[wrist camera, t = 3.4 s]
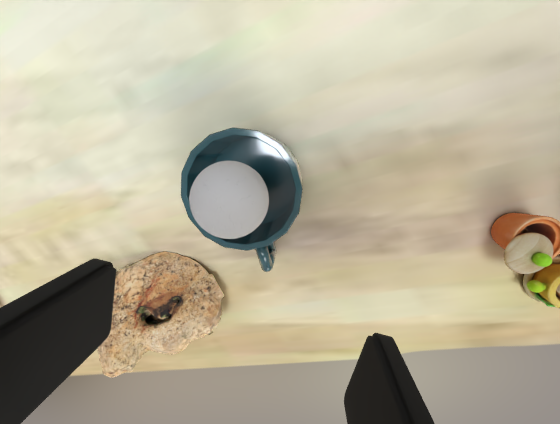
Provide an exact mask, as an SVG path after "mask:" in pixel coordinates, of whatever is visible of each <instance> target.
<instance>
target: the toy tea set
mask: <svg viewBox="0 0 560 424" xmlns="http://www.w3.org/2000/svg"><path fill="white" fill-rule="evenodd" d="M491 235H492V238H493V240H494V241H495V242H496V243H497V244H498V245H500V246H501V247H502V248H503V249H505V252H504V260H505V263H506V265H507V266H508V267H509V268H510V269H511V270H513V271H514V272H517V273H521V274H525V275H524V279H523V287H524V289H525V291H526V293H527V294H528V295H529V296H530V297H532V298H533V299H535V300H537V301H540V302H544V303H545V304H546V305H547V306H553V307H557V308H560V256H557V255H558V254H559V253H560V222H559V221H558V220H556V219H554V218H551V217H546V216H538V215H530V214H521V213H508V214H505V215H503V216H501V217H500V218H498V219H497V220H496V221H495V223H494V224H493V226H492V230H491Z"/></svg>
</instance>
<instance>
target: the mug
mask: <svg viewBox="0 0 560 424" xmlns="http://www.w3.org/2000/svg"><path fill="white" fill-rule="evenodd" d="M229 160H230V161H236V162H241V163H244V164H246V165H248V166H250V167H251V168H253V169H254V170H256V171H257V172H258V173H259V174H260V176H261V177H262V179H263V180H264V182H265V184H266V187H267V190H268V195H269V206H268V210H267V213H266V216H265V218H264V220H263V221H262V223H261V224H260V225H259V226H258V227H257V228H256V229H255V230H254V231H252V232H251V233H249V234H248V235H246V236H243V237H239V238H236V239H225V238H219V237H216V236H213V235H211V234H209V233H208V232H206V231H205V230H204V229H203V228H201V227H200V225H199V224H198V223H197V222H196V220H195V219H194V217H193V215H192V212H191V209H190V202H189V196H190V190H191V187H192V185H193V182H194V180H195V179H196V177H197V176H198V175H199V174H200V172H201V171H203V170H204V169H205V168H207V167H208V166H210V165H212V164H214V163H217V162H221V161H229ZM302 184H303V180H302V176H301V172H300V168H299V164H298V161H297V159H296V158H295V156H294V155H293V154H292V152H291V151H290V150H289V148H288V147H287V146H286V145H285V144H284V143H282V142H280V141H279V140H277V139H275V138H274V137H272V136H270V135H268V134H266V133H263V132H260V131H257V130H248V129H240V128H230V129H227V130H223V131H220V132H217V133H214V134H210V135H209V136H207V137H206V138H205V139H204V140H203V141H202V142H201V143H200V144H198V145H197V146H196V147H195V148H194V149H193V150H192V151H191V153H190V155H189V157H188V159H187V161H186V164H185V166H184V168H183V170H182V176H181V198H182V200H183V203H184V206H185V208H186V211H187V214H188V217H189V219H190V220H191V221H192V222H193V223H194V225H195V226H196V227H197V228H198V229H199V230H200V232H201V233H202V234H203V235H204V236H205V237H207V238H209V239H211V240H212V241H214V242H216V243H218V244H219V245H221V246H223V247H227V248H234V249H240V250H251V249H256V252H257V255H258V259H259V262H260V265H261V268H262V270H263V271H265V272H269V271H271V269H272V268H273V264H274V260H275V256H276V248H275V244H274V241H276V240H277V239H278V238H280V237H281V236H283V235H284V234H285V233H287V232H288V230H289V228H290V227H291V225H292V223H293V222H294V220H295V219H296V217H297V215H298V214H299V210H300V203H301V196H302Z"/></svg>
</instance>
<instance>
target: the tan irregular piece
mask: <svg viewBox="0 0 560 424" xmlns="http://www.w3.org/2000/svg"><path fill="white" fill-rule="evenodd" d="M223 297H224V294H223V292H222V291H221V289H220V287H219V285H218V283H217V281H216V280H215V278H214V276H213V274H209V275H208V272H207V271H206V270H205V269H204V268H203V267H201V264H199V263H197V262H196V261H194V260H192V259H191V258H188V257H185V256H184V257H182V256H181V255H179V254H177V253H176V254H175V253H169V252H162V253H157V254H153V255H151V256H149V257H147V258H145V259H143V260H141V261H139V262H136V263H135V264H133V265H131V266H129V267H126V268H123V269H121V270H119V271H117V272H116V279H115V290H114V301H113V313H112V324H111V331H110V334H109V336H108V337H107V339H106V340H105V341H104V342H103V343H102V344H101V345H100V346H99V347H98V348H97V349H98V353H99V356H100V358H99V360H100V362H101V365H102V368H103V374H105V376H109V377H111V378H113V377H116V376H117V375H120V374H122V373H124V372H132V371H133V369H134V367H135V365H136V363H137V362H138V361H139V360H140V359H141V356H142V355H143V354H144V353H146V352H147V351H154V352H160V353H165V354H177V353H179V352H181V351H182V350H184V349H185V348H186V347H187V345H188V344H189V343H190V341H192V340H196V339H199V338H201V337H203V338H204V337H205V334H206V335H210V334H211V333H212V332H213V328H214V327H217V325H218V323H219V322H220V320H221V318H220V316H221V315H222V312H221V300H222V298H223Z"/></svg>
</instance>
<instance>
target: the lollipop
mask: <svg viewBox="0 0 560 424" xmlns="http://www.w3.org/2000/svg"><path fill="white" fill-rule="evenodd" d="M189 202H190V209H191V212H192V215H193V217H194V219H195V220H196V222H197V223H198V224H199V225H200V227H201V228H203V229H204V230H205V231H206V232H208V233H209V234H211V235H213V236H216V237H219V238H225V239H236V238H239V237H243V236H246V235H248V234H249V233H251V232H252V231H254V230H255V229H256V228H257V227H258V226H259V225H260V224H261V223H262V221H263V220H264V218H265V216H266V213H267V210H268V206H269V195H268V190H267V187H266V184H265V182H264V180H263V179H262V177H261V176H260V174H259V173H258V172H257V171H256V170H254V169H253V168H251V167H250V166H248V165H246V164H244V163H241V162H236V161H230V160H229V161H221V162H217V163H214V164H212V165H210V166H208V167H207V168H205V169H204V170H203V171H201V172H200V174H199V175H198V176H197V177H196V179H195V180H194V182H193V185H192V187H191V190H190V196H189Z"/></svg>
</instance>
